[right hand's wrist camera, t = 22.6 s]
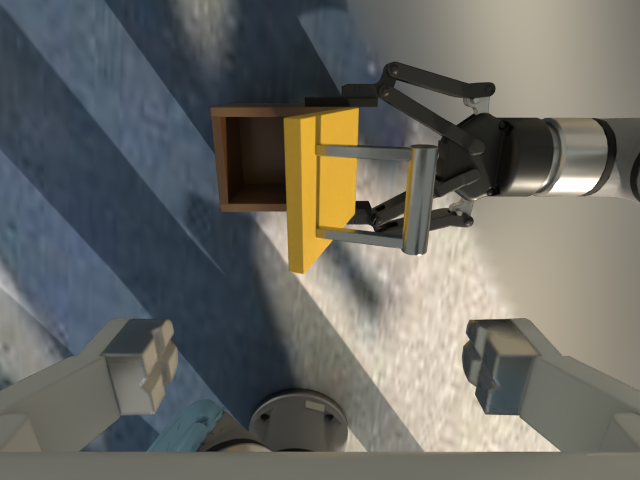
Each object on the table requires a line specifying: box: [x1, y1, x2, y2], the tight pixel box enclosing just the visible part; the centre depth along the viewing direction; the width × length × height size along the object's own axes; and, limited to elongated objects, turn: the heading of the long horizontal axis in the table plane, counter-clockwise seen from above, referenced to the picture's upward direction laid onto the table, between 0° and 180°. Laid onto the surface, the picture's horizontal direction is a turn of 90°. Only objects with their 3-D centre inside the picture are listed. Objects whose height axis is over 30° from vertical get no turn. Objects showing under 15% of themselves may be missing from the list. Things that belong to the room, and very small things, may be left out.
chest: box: [210, 103, 346, 211], centre depth 39 cm, size 12×10×9 cm
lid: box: [284, 107, 439, 274], centre depth 27 cm, size 13×10×8 cm
